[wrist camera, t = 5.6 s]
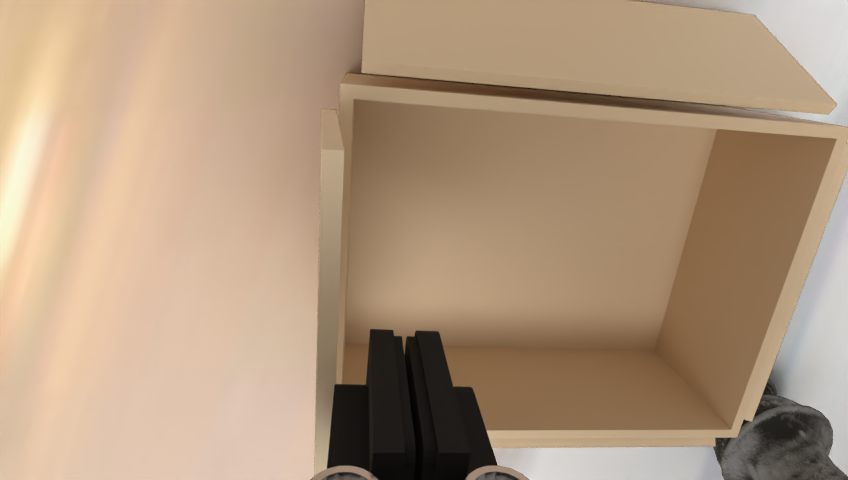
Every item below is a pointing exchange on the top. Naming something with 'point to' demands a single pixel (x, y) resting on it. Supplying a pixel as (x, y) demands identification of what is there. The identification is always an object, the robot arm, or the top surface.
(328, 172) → the flap
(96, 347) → the top surface
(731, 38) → the carton
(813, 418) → the weathered iron finial
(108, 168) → the top surface
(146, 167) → the top surface
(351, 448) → the robot arm
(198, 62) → the top surface
